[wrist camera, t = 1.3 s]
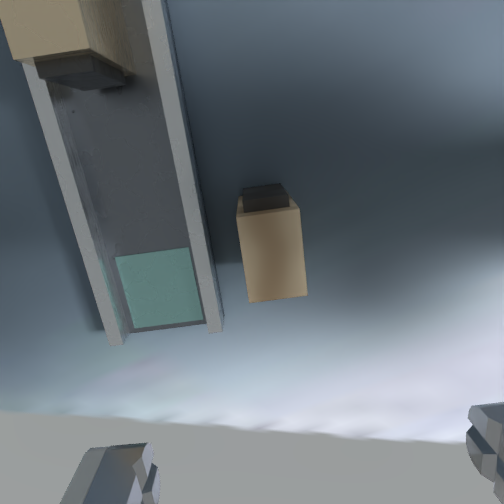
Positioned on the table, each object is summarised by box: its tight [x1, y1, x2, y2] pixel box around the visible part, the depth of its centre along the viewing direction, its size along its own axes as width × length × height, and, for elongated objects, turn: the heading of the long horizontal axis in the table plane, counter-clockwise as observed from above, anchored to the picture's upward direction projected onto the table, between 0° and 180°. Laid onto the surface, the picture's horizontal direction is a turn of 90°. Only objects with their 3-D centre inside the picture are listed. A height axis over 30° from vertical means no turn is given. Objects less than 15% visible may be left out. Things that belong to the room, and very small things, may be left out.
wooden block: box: [236, 183, 308, 303], centre depth 26 cm, size 4×7×8 cm, turn 8°
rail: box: [0, 0, 224, 346], centre depth 24 cm, size 10×28×9 cm, turn 8°
